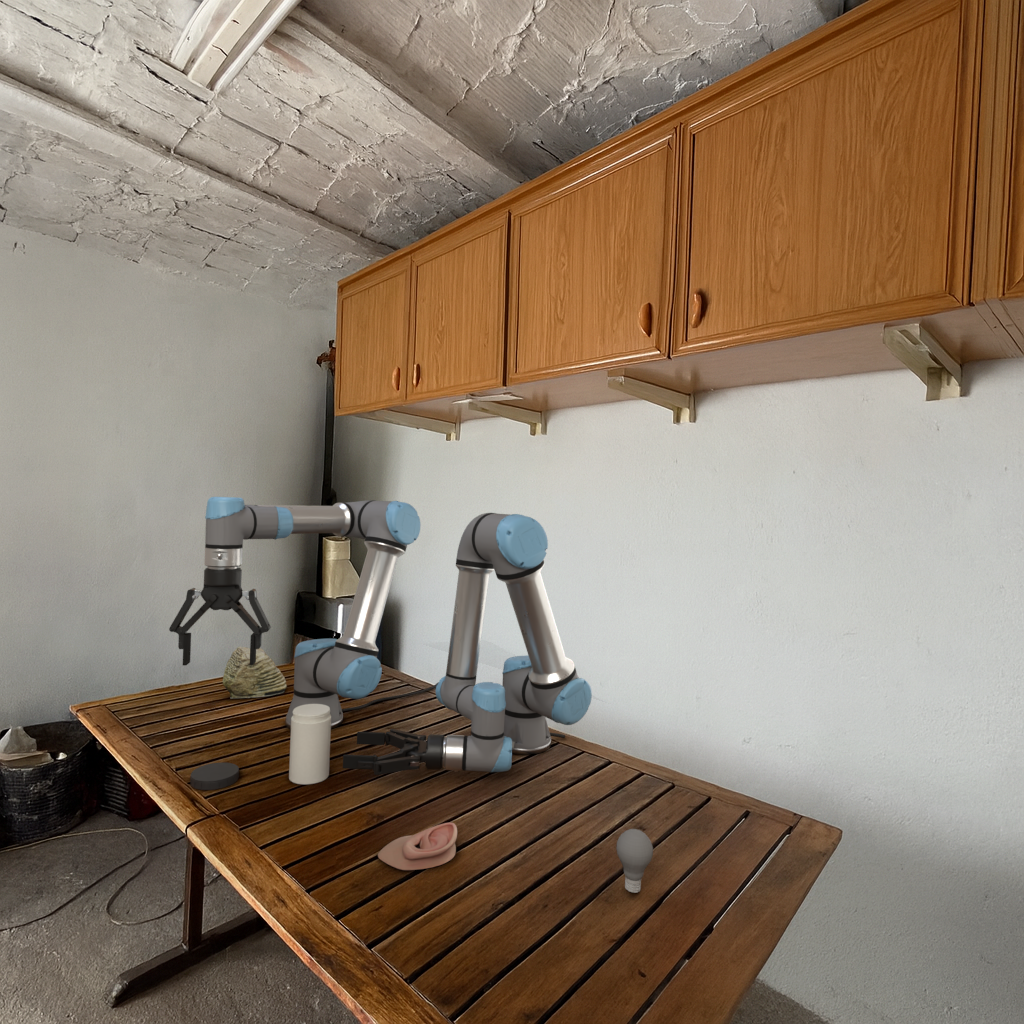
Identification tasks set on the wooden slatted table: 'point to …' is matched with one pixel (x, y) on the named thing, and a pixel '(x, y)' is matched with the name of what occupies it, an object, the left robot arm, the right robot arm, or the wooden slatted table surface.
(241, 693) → the fossil
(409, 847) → the anatomical model
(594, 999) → the wooden slatted table surface
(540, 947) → the wooden slatted table surface
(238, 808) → the wooden slatted table surface
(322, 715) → the jar
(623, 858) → the light bulb
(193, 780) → the lid
